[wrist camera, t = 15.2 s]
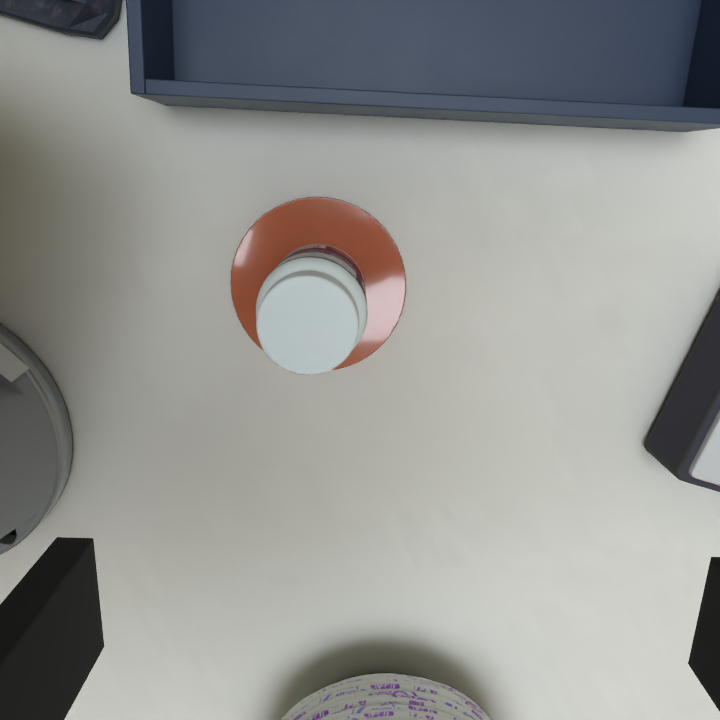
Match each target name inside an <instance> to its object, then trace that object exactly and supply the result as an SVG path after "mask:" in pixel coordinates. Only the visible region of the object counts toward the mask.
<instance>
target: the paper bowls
mask: <svg viewBox="0 0 720 720" xmlns="http://www.w3.org/2000/svg"><path fill="white" fill-rule="evenodd" d="M281 720H491V718H490V717H489V715H487V714H486V713H485V712H484V710H483V709H482V708H480V707H479V706H478V705H477V703H475V702H474V701H472V700H471V699H470V698H469V697H468V696H466V695H465V694H462V693H461V692H459V691H457V690H456V689H454V688H453V687H449V686H448V685H446V684H441V683H439V682H435V681H431V680H429V679H426V678H422V677H416V676H409V675H406V674H393V673H379V674H369V675H361V676H356V677H352V678H348V679H345V680H342V681H340V682H337V683H334V684H331V685H329V686H326V687H324V688H322V689H320V690H318V691H317V692H315V693H313V694H311V695H309V696H307V697H305V698H304V699H302V700H301V701H299V702H298V703H297V704H296V705H295V706H294V707H293V708H292V709H290V710H289V711H288V712H287V713H286V715H285V716H284V717H283V718H282V719H281Z"/></svg>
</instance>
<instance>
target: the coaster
mask: <svg viewBox="0 0 720 720" xmlns="http://www.w3.org/2000/svg"><path fill="white" fill-rule="evenodd" d="M309 244H328V245H331V246H334V247H337V248H339V249H341V250H343V251H344V252H346V253H347V254H348V255H349V256H350V257H352V258H353V260H354V261H355V262H356V263H357V265H358V266H359V268H360V270H361V272H362V275H363V278H364V282H365V290H366V301H367V310H368V317H367V324H366V328H365V332H364V334H363V335H362V337H361V339H360V341H359V342H358V344H357V345H356V347H355V348H354V349H353V350H352V351H351V353H350V354H349V356H348V357H347V358H346V359H345V360H344V361H343V362H342V363H341V364H340V365H338V366H337V367H335V368H334V369H332V370H335V369H340V368H343V367H347V366H350V365H352V364H355V363H357V362H359V361H361V360H363V359H364V358H366V357H368V356H369V355H371V354H372V353H373V352H375V351H376V350H377V349H378V348H379V347H380V346H381V345H382V344H383V343H384V342H385V341H386V340H387V338H388V337H389V336H390V334H391V333H392V331H393V330H394V328H395V326H396V325H397V322H398V320H399V318H400V315H401V313H402V309H403V305H404V301H405V293H406V278H405V271H404V266H403V262H402V258H401V256H400V253H399V251H398V249H397V246H396V245H395V243H394V241H393V239H392V238H391V236H390V235H389V233H388V232H387V231H386V230H385V228H384V227H383V226H382V225H381V224H380V223H379V222H378V221H377V220H376V219H375V218H374V217H372V216H371V215H370V214H368V213H367V212H366V211H364V210H362V209H360V208H359V207H357V206H355V205H352V204H350V203H347V202H345V201H341V200H337V199H333V198H325V197H308V198H302V199H297V200H293V201H290V202H287V203H284V204H282V205H280V206H278V207H276V208H274V209H272V210H271V211H269V212H268V213H266V214H265V215H263V216H262V217H261V218H260V219H259V220H258V221H256V223H255V224H254V225H253V226H252V227H251V228H250V229H249V230H248V232H247V233H246V235H245V236H244V238H243V239H242V241H241V243H240V245H239V247H238V249H237V252H236V255H235V258H234V261H233V266H232V271H231V293H232V299H233V304H234V307H235V310H236V313H237V316H238V318H239V320H240V322H241V324H242V326H243V328H244V329H245V331H246V332H247V334H248V335H249V336H250V338H251V339H252V340H253V341H254V342H255V343H256V344H257V345H258V346H259V347H260V348H261V349H262V350H263V348H262V346H261V344H260V342H259V339H258V335H257V329H256V302H257V297H258V294H259V291H260V289H261V287H262V285H263V283H264V281H265V279H266V278H267V276H268V275H269V274H270V273H271V272H272V271H273V270H274V269H275V268H276V267H277V265H279V263H280V262H281V261H282V260H283V259H284V258H285V257H286V256H287V255H288V254H290V253H291V252H292V251H294V250H296V249H297V248H300V247H302V246H305V245H309ZM263 351H264V350H263Z"/></svg>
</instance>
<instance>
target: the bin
mask: <svg viewBox="0 0 720 720" xmlns="http://www.w3.org/2000/svg"><path fill="white" fill-rule="evenodd" d="M126 9H127V28H128V47H129V67H130V86H131V93H132V94H134V95H137V96H140V97H143V98H146V99H149V100H152V101H155V102H158V103H161V104H164V105H168V106H187V107H207V108H226V109H246V110H265V111H285V112H304V113H324V114H343V115H363V116H383V117H402V118H422V119H441V120H461V121H480V122H500V123H519V124H539V125H558V126H578V127H597V128H617V129H636V130H656V131H676V132H689V131H698V130H706V129H715V128H720V0H126Z"/></svg>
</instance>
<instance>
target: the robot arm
mask: <svg viewBox="0 0 720 720" xmlns="http://www.w3.org/2000/svg"><path fill="white" fill-rule="evenodd" d="M71 462H72V433H71V426H70V421H69V417H68V413H67V410H66V407H65V404H64V401H63V399H62V397H61V394H60V392H59V390H58V388H57V386H56V384H55V383H54V381H53V379H52V377H51V376H50V374H49V373H48V371H47V370H46V368H45V367H44V366H43V364H42V363H41V362H40V360H39V359H38V358H37V357H36V356H35V355H34V353H33V352H32V351H31V350H30V349H29V348H28V347H27V346H26V345H25V344H24V343H23V342H22V341H21V340H19V339H18V338H17V337H16V336H15V335H14V334H12V333H11V332H10V331H9V330H7V329H6V328H4V327H3V326H1V325H0V555H1V554H2V553H4V552H6V551H8V550H10V549H11V548H13V547H14V546H16V545H17V544H19V543H20V542H21V541H22V540H23V539H25V538H26V537H27V536H28V535H29V534H30V533H31V532H32V531H33V530H34V529H35V528H36V527H37V525H38V524H39V523H40V522H41V521H42V520H43V519H44V518H45V517H46V515H47V514H48V513H49V512H50V511H51V509H52V508H53V507H54V505H55V504H56V502H57V501H58V499H59V497H60V496H61V494H62V492H63V489H64V487H65V485H66V482H67V479H68V476H69V472H70V467H71ZM103 648H104V641H103V631H102V621H101V611H100V601H99V591H98V582H97V572H96V562H95V552H94V542H93V538H61V537H57V538H56V539H55V540H54V541H53V543H52V544H51V545H50V546H49V547H48V549H47V550H46V551H45V552H44V553H43V555H42V556H41V557H40V558H39V559H38V561H37V562H36V563H35V564H34V565H33V567H32V568H31V569H30V570H29V571H28V572H27V574H26V575H25V576H24V577H23V578H22V580H21V581H20V582H19V583H18V584H17V586H16V587H15V588H14V589H13V590H12V592H11V593H10V594H9V595H8V596H7V597H6V599H5V600H4V601H3V602H2V603H1V605H0V720H64V719H65V717H66V715H67V713H68V711H69V710H70V708H71V706H72V704H73V702H74V701H75V699H76V697H77V695H78V693H79V691H80V690H81V688H82V686H83V684H84V682H85V680H86V679H87V677H88V675H89V673H90V671H91V669H92V668H93V666H94V664H95V662H96V660H97V658H98V657H99V655H100V653H101V651H102V649H103ZM688 664H689V666H690V667H691V669H692V670H693V672H694V673H695V675H696V676H697V678H698V679H699V681H700V682H701V684H702V685H703V687H704V688H705V690H706V691H707V693H708V694H709V696H710V697H711V699H712V701H713V702H714V704H715V705H716V707H717V708H718V710H719V711H720V557H711V561H710V565H709V570H708V574H707V579H706V584H705V588H704V593H703V598H702V602H701V607H700V611H699V616H698V621H697V625H696V630H695V635H694V639H693V644H692V648H691V653H690V658H689V662H688Z"/></svg>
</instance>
